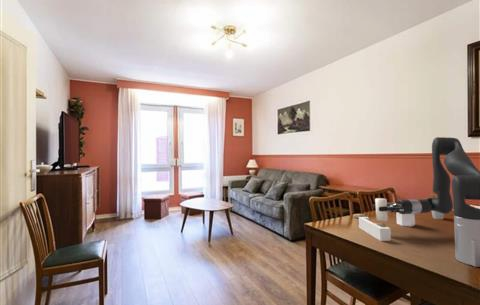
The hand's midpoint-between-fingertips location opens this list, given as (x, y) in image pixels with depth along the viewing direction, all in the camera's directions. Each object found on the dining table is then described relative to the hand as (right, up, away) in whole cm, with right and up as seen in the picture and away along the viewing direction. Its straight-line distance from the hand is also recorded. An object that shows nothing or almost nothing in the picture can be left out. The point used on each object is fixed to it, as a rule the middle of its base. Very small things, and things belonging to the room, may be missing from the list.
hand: (376, 207), depth 128 cm
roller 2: (+7, -14, +11) cm, 19 cm away
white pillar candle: (+3, -6, 0) cm, 7 cm away
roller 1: (+7, -12, +34) cm, 36 cm away
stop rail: (-1, -14, +1) cm, 14 cm away
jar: (+26, -14, +15) cm, 33 cm away
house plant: (+56, -13, +27) cm, 64 cm away
